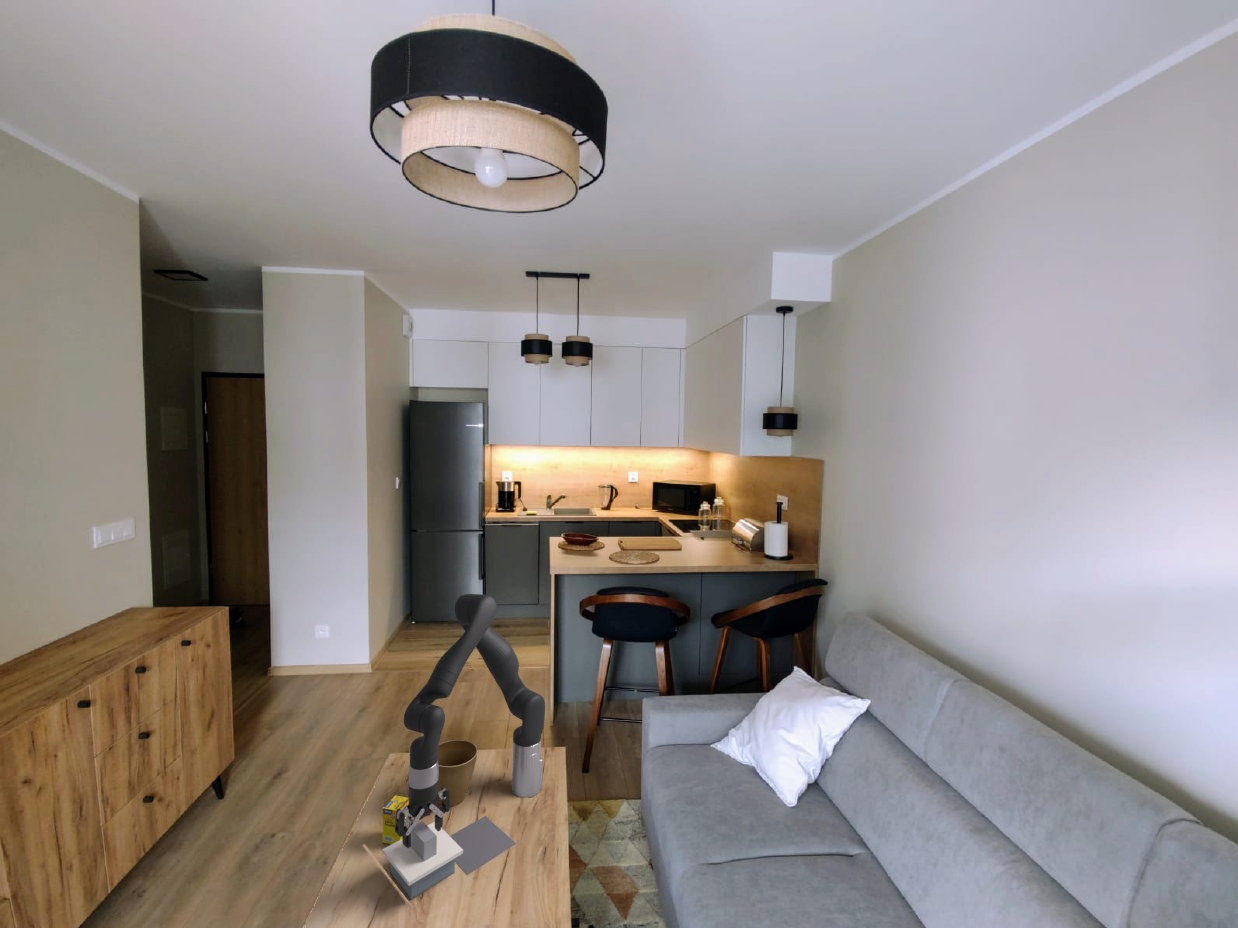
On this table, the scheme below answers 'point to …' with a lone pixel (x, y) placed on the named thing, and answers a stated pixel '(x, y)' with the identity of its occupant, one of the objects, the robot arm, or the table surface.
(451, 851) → the lid
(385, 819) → the supplement box
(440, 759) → the plant pot
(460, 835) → the mat
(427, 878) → the grey storage bin
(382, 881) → the table surface
